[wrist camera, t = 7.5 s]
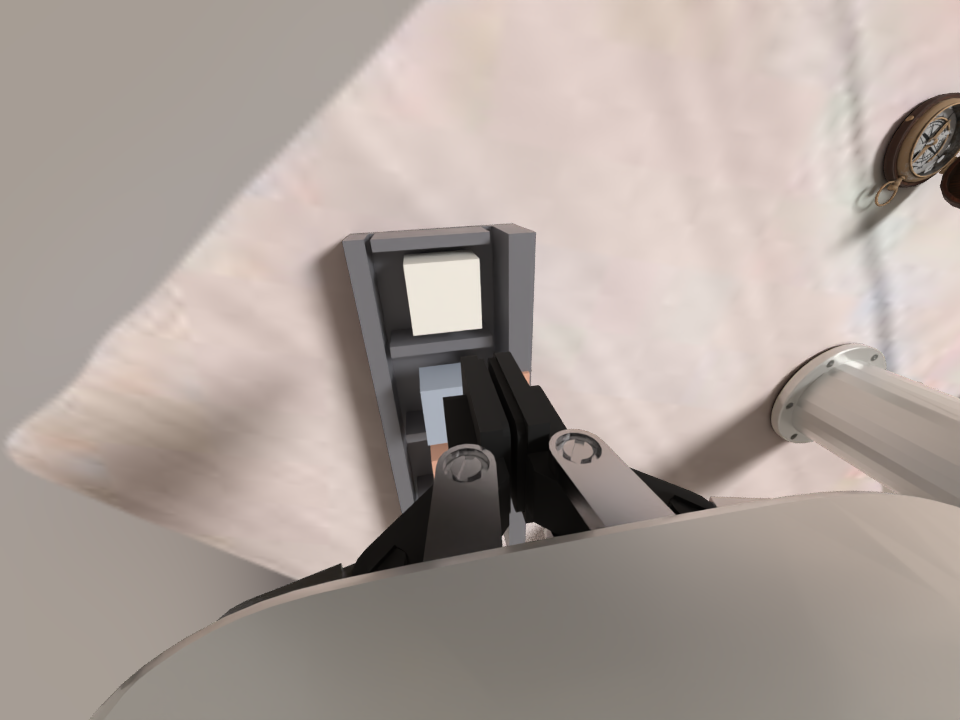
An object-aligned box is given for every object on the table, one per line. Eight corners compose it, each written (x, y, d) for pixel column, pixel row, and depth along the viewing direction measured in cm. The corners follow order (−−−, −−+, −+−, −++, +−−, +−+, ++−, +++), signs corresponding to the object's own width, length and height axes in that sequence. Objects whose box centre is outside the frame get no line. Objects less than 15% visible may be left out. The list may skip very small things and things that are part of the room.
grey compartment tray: (512, 223, 24) (537, 232, 19) (511, 508, 38) (525, 553, 33) (350, 233, 22) (334, 246, 18) (411, 527, 36) (411, 578, 31)
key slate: (480, 360, 25) (488, 382, 22) (482, 409, 27) (490, 435, 24) (418, 367, 24) (420, 391, 21) (426, 417, 26) (428, 445, 23)
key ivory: (470, 249, 23) (479, 258, 20) (473, 312, 25) (482, 328, 22) (403, 254, 22) (403, 264, 19) (412, 318, 24) (413, 335, 21)
